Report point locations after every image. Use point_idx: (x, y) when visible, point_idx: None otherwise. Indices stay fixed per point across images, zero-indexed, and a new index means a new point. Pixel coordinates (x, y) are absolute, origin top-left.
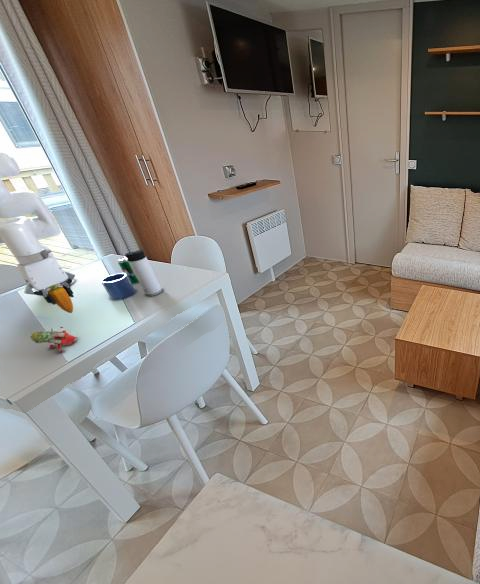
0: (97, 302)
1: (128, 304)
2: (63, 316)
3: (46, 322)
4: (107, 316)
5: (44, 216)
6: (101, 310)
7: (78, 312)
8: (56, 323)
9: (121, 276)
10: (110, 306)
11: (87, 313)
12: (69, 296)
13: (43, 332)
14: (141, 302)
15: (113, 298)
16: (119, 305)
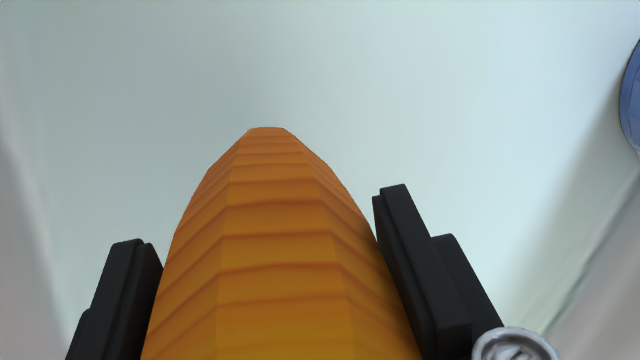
0: (529, 5)
1: (584, 296)
2: (188, 42)
3: (20, 29)
4: None
5: None
6: (445, 232)
7: (319, 88)
8: (115, 156)
9: None
10: (517, 220)
11: (360, 190)
12: (378, 244)
13: None
14: (629, 333)
15: (630, 124)
16: (553, 260)
